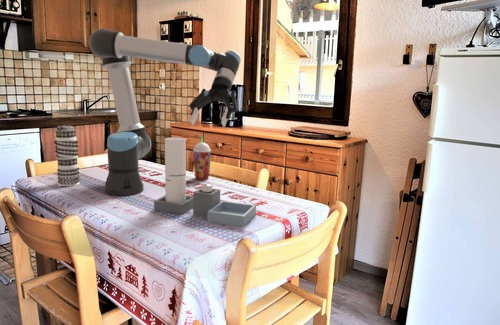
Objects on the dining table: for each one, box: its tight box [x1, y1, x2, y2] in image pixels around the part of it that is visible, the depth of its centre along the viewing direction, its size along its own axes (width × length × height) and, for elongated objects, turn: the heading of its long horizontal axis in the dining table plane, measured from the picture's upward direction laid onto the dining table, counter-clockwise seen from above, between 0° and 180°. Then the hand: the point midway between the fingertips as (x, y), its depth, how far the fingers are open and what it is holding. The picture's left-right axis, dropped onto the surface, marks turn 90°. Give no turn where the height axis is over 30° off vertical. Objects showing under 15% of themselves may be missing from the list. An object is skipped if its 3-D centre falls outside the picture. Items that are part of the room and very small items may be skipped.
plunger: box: [201, 183, 213, 193], centre depth 133 cm, size 4×4×4 cm
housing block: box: [192, 187, 221, 218], centre depth 134 cm, size 7×7×8 cm
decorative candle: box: [53, 125, 81, 187], centre depth 164 cm, size 9×9×25 cm
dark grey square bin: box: [153, 194, 193, 215], centre depth 139 cm, size 11×11×4 cm
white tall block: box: [164, 136, 187, 203], centre depth 137 cm, size 7×7×25 cm
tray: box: [206, 200, 257, 228], centre depth 130 cm, size 13×13×4 cm
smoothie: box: [192, 136, 212, 181], centre depth 181 cm, size 8×8×20 cm
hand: (207, 123), depth 144 cm, fingers open, 12 cm apart
